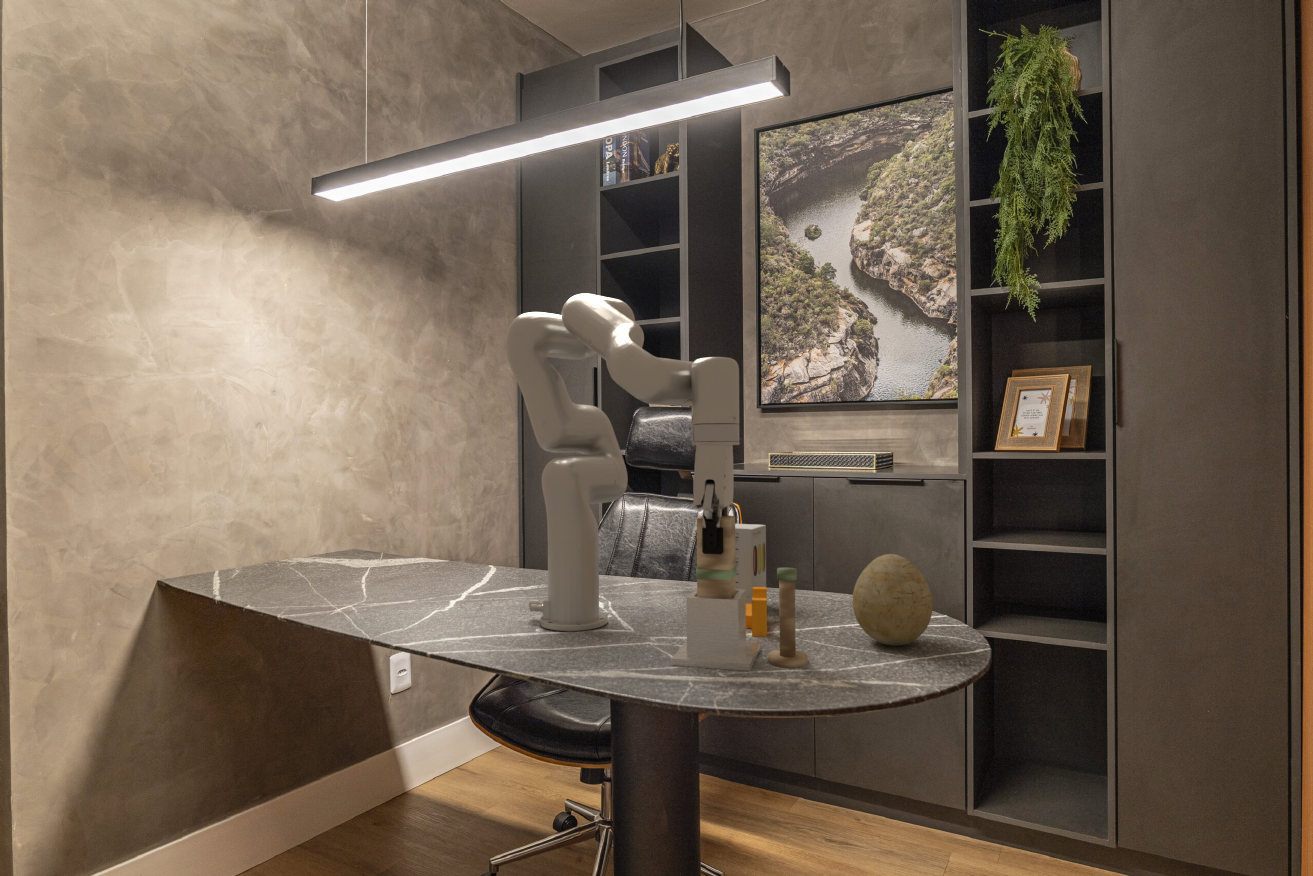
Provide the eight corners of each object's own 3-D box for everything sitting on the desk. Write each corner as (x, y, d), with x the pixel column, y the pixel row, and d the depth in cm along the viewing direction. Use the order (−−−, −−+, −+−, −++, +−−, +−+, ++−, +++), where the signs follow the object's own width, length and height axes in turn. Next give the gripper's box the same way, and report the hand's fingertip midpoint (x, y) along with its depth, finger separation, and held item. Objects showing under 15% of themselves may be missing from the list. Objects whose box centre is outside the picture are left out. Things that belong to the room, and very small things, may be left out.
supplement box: (752, 615, 146) (752, 529, 146) (708, 611, 150) (708, 527, 150) (767, 605, 155) (766, 524, 155) (725, 601, 159) (724, 522, 159)
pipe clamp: (743, 620, 143) (743, 586, 143) (766, 621, 142) (766, 587, 142) (741, 636, 131) (741, 599, 131) (767, 637, 130) (766, 600, 131)
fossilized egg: (872, 630, 134) (872, 546, 134) (944, 642, 126) (943, 553, 126) (839, 645, 124) (838, 555, 124) (914, 660, 116) (914, 562, 116)
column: (696, 615, 116) (695, 518, 116) (703, 607, 122) (702, 515, 122) (731, 617, 115) (730, 519, 115) (736, 609, 120) (736, 515, 120)
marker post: (765, 666, 113) (765, 571, 113) (770, 655, 119) (769, 565, 119) (806, 668, 112) (805, 573, 112) (808, 657, 118) (808, 566, 118)
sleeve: (671, 665, 114) (670, 599, 114) (688, 644, 126) (687, 584, 126) (750, 671, 111) (749, 603, 111) (760, 649, 123) (759, 587, 123)
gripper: (702, 436, 128) (703, 543, 128) (680, 436, 111) (680, 558, 111) (746, 436, 126) (747, 544, 126) (730, 435, 109) (731, 560, 109)
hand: (716, 549), depth 118 cm, fingers closed on column, 5 cm apart
